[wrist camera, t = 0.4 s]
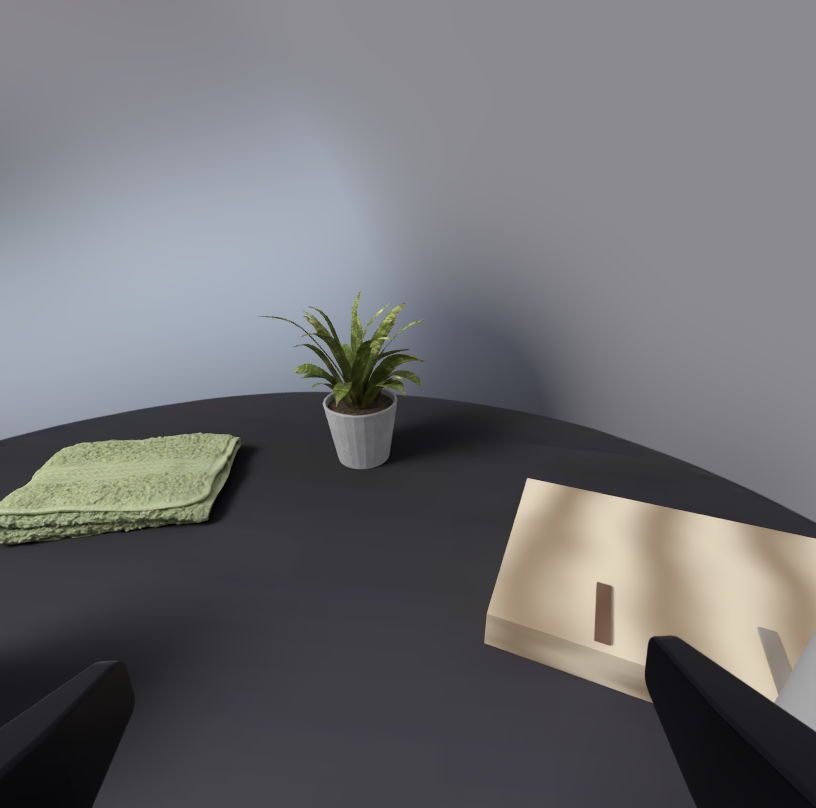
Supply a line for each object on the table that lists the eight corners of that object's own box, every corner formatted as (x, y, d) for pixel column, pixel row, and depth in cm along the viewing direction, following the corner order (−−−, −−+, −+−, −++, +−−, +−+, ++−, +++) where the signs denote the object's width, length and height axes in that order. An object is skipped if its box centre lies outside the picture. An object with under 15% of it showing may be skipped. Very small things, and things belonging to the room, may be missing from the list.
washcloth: (216, 531, 35) (207, 499, 34) (-26, 557, 33) (-45, 524, 32) (246, 448, 47) (241, 422, 46) (69, 463, 45) (58, 436, 44)
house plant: (272, 513, 37) (236, 321, 30) (284, 433, 49) (260, 284, 42) (438, 491, 39) (440, 308, 32) (409, 420, 51) (406, 277, 44)
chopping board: (819, 570, 30) (835, 540, 29) (948, 808, 18) (984, 774, 17) (524, 502, 37) (527, 476, 36) (484, 643, 26) (487, 611, 24)
